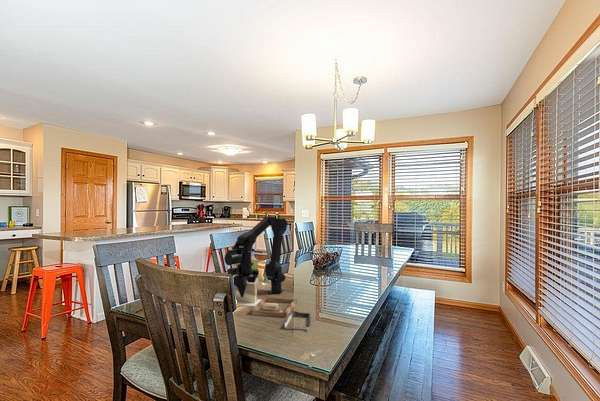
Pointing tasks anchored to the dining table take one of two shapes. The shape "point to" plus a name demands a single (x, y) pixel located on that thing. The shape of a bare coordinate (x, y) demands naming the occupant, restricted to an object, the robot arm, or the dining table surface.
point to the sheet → (247, 293)
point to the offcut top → (270, 306)
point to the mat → (249, 303)
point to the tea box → (253, 266)
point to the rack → (270, 313)
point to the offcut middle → (271, 310)
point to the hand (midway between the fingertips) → (246, 293)
